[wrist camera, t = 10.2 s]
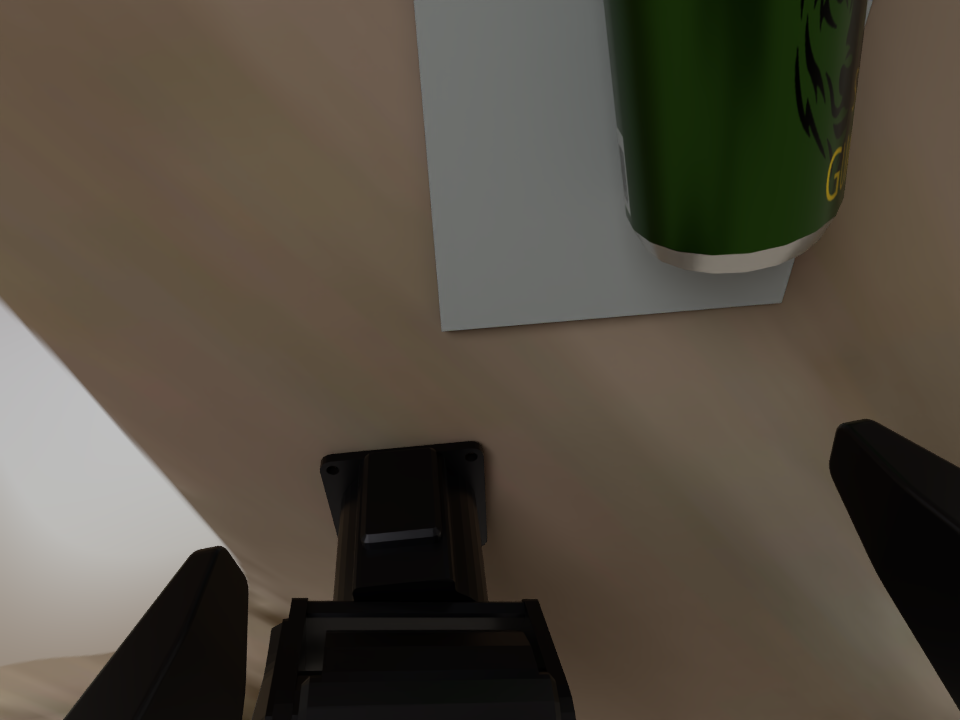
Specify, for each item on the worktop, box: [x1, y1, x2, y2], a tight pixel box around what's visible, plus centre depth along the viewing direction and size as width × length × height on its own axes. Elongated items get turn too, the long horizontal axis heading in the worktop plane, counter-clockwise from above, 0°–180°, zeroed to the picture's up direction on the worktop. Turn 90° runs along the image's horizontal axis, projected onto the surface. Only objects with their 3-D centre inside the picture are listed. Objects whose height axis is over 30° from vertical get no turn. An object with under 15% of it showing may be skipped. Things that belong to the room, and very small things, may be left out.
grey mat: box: [414, 0, 873, 331], centre depth 18 cm, size 16×12×1 cm
